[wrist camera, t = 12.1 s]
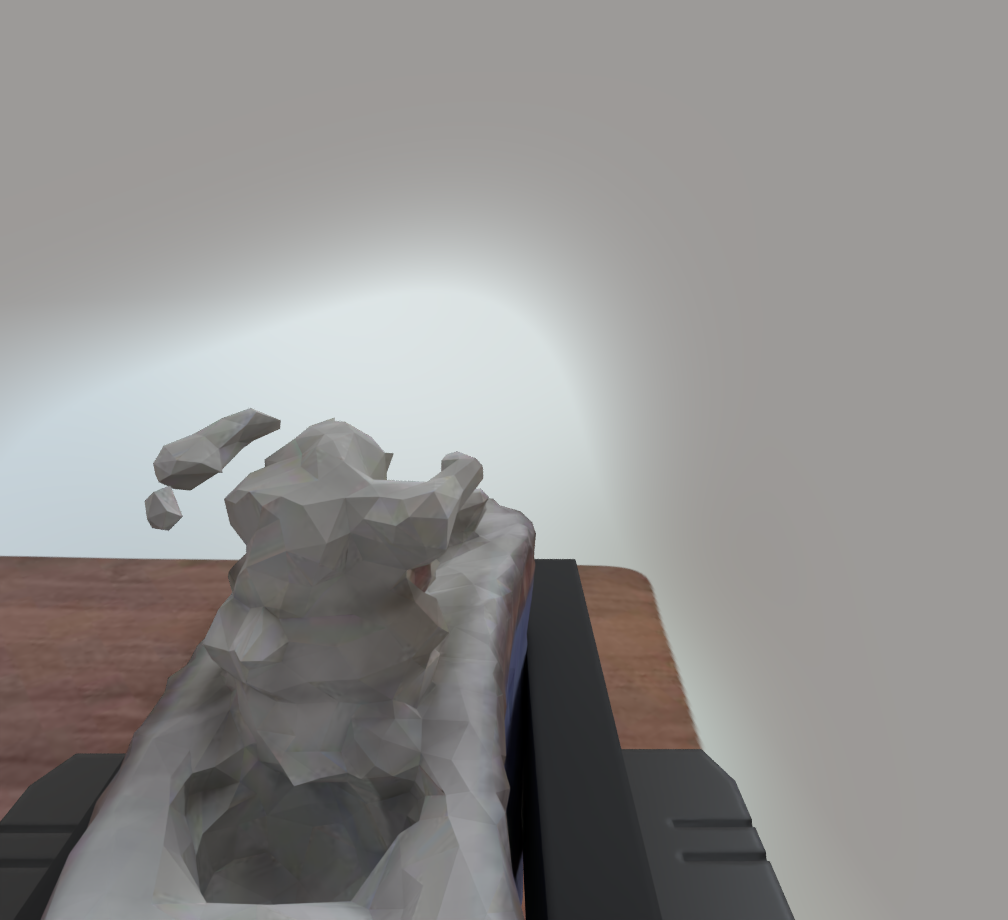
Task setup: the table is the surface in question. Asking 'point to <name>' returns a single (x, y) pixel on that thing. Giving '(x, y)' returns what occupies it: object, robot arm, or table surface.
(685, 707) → the table surface
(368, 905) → the flask
